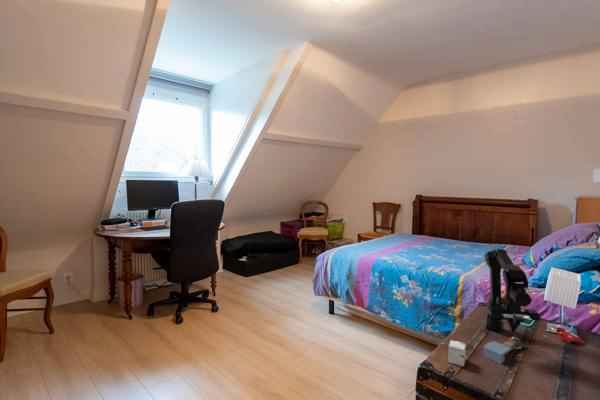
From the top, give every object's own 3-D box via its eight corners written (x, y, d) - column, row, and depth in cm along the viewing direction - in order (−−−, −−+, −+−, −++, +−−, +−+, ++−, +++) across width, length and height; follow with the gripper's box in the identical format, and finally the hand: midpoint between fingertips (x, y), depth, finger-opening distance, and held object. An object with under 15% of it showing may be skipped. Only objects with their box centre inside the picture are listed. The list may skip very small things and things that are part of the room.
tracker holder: (588, 339, 146) (580, 340, 141) (584, 348, 147) (576, 349, 142) (558, 323, 157) (550, 324, 152) (554, 331, 157) (546, 332, 152)
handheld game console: (538, 318, 172) (538, 316, 172) (530, 328, 161) (530, 325, 161) (516, 312, 180) (516, 310, 179) (508, 321, 169) (508, 319, 169)
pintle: (502, 344, 146) (502, 336, 145) (509, 340, 149) (510, 332, 149) (519, 351, 140) (519, 343, 139) (526, 346, 143) (526, 338, 143)
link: (511, 340, 147) (511, 336, 147) (522, 344, 144) (522, 340, 144) (492, 353, 137) (492, 348, 137) (503, 358, 134) (503, 353, 134)
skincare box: (448, 362, 133) (448, 345, 132) (450, 355, 138) (450, 339, 137) (464, 366, 129) (464, 349, 129) (465, 359, 134) (466, 343, 134)
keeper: (480, 354, 138) (480, 345, 137) (490, 348, 142) (490, 339, 142) (500, 363, 131) (501, 354, 130) (511, 357, 135) (511, 347, 135)
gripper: (530, 292, 141) (529, 325, 142) (483, 289, 146) (483, 321, 148) (541, 301, 131) (540, 337, 132) (491, 298, 136) (490, 332, 137)
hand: (512, 331), depth 137 cm, fingers closed
